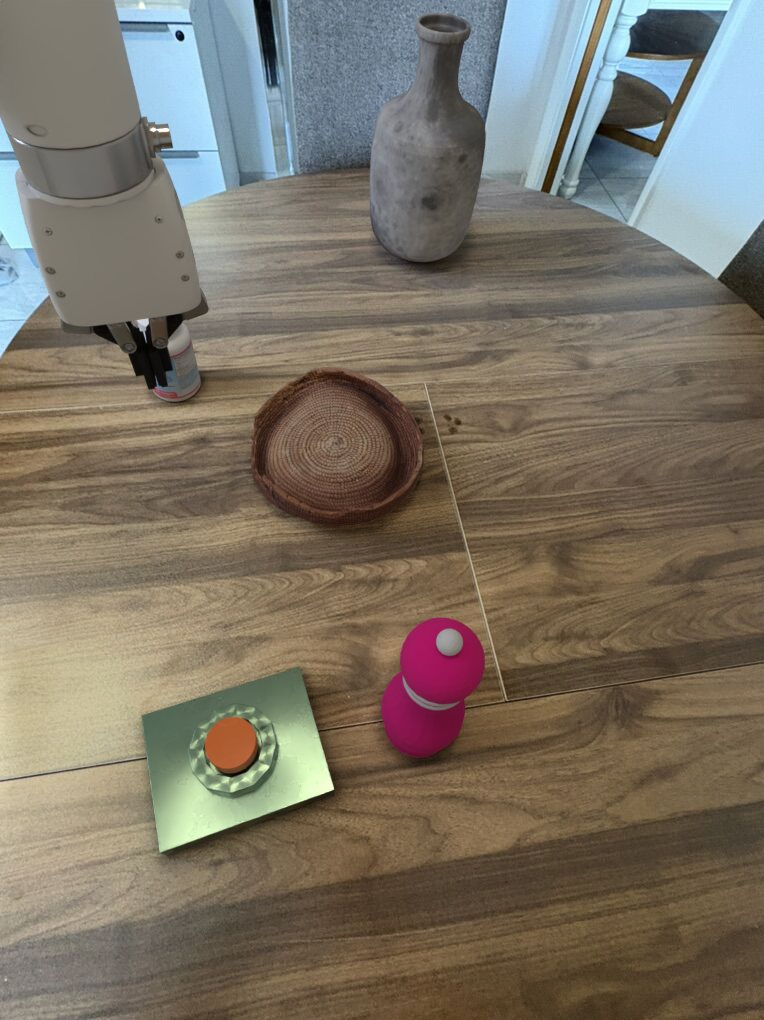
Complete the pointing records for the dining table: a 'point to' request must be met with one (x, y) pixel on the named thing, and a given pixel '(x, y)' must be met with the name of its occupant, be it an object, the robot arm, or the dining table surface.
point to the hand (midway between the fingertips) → (156, 376)
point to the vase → (427, 151)
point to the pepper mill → (432, 686)
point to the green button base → (246, 794)
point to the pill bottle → (178, 366)
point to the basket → (335, 448)
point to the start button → (231, 745)
